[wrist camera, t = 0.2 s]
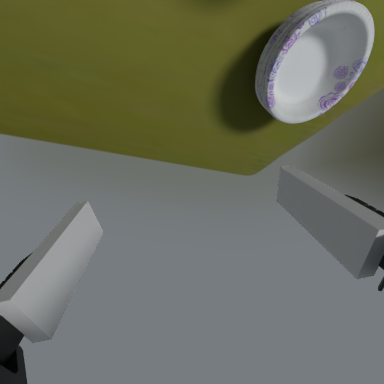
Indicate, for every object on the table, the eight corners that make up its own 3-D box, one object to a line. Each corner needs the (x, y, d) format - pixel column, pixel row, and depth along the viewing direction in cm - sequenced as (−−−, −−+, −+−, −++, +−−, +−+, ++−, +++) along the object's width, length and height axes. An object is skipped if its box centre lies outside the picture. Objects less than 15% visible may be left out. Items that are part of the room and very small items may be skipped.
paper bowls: (312, 103, 38) (338, 120, 32) (241, 111, 37) (256, 129, 31) (356, -3, 27) (407, -5, 21) (258, 3, 26) (285, 3, 21)
